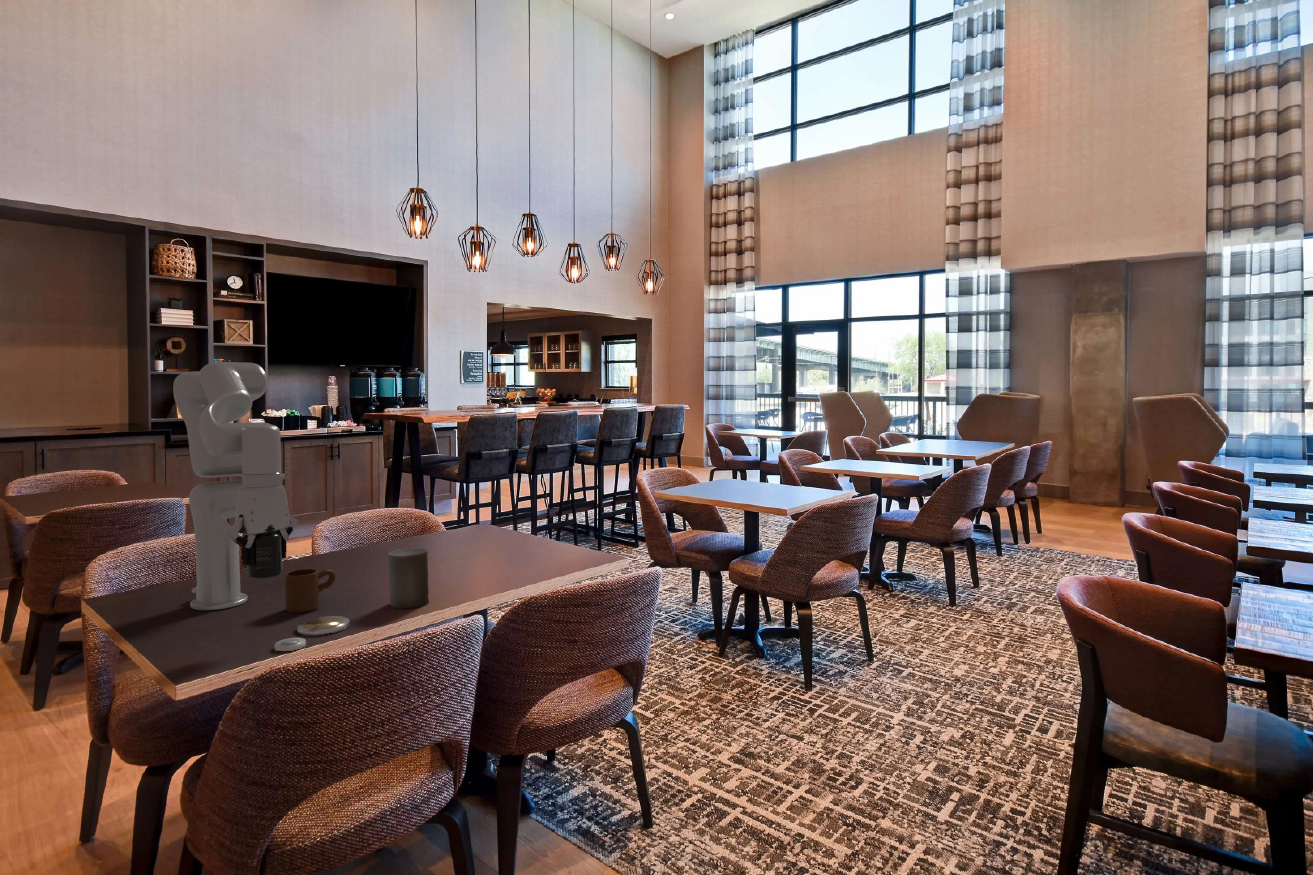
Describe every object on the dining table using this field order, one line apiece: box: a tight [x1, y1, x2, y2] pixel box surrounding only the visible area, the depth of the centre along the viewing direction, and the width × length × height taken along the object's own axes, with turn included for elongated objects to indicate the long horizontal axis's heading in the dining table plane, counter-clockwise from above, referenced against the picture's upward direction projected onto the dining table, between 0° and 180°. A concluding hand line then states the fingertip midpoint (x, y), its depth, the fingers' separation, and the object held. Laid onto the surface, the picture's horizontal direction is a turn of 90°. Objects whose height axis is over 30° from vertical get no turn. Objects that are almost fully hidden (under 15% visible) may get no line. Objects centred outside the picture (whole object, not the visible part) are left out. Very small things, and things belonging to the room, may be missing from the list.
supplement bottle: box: [246, 524, 283, 580], centre depth 157 cm, size 7×7×12 cm
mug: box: [284, 568, 336, 614], centre depth 181 cm, size 12×8×9 cm, turn 134°
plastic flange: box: [274, 637, 307, 652], centre depth 153 cm, size 6×6×1 cm
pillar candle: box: [387, 546, 430, 609], centre depth 185 cm, size 10×10×15 cm
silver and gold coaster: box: [296, 615, 350, 637], centre depth 166 cm, size 11×11×1 cm
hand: (264, 560), depth 157 cm, fingers closed on supplement bottle, 6 cm apart
